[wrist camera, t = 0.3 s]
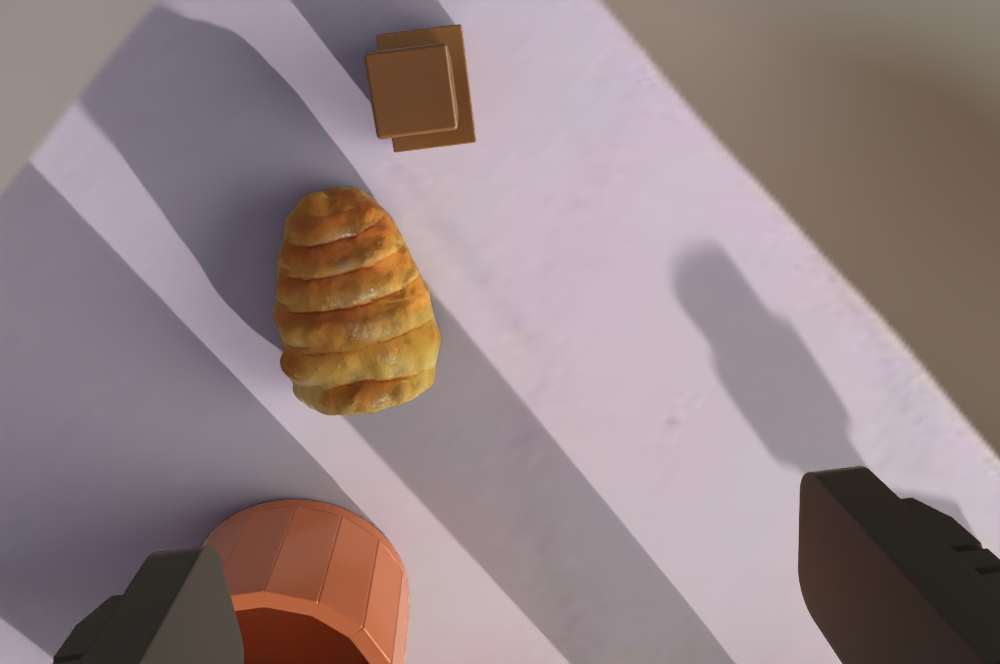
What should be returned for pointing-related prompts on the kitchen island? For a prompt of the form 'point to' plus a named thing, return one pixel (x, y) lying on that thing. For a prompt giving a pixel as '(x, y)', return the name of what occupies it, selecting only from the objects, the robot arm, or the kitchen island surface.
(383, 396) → the pastry
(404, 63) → the wooden mallet
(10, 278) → the kitchen island surface
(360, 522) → the crock
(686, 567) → the kitchen island surface
